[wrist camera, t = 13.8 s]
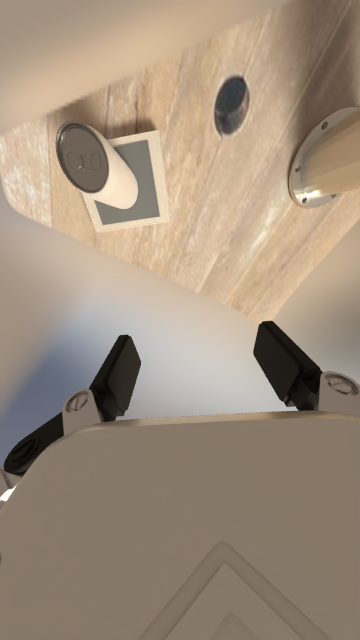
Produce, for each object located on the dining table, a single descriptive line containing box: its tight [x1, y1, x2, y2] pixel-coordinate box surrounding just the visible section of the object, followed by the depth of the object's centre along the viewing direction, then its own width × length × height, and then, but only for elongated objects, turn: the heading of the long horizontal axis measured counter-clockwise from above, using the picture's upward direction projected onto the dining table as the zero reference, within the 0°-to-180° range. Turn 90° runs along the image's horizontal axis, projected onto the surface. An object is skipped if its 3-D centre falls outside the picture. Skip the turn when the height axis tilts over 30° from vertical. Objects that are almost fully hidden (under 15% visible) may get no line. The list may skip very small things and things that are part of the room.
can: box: [56, 121, 138, 209], centre depth 21 cm, size 6×6×12 cm
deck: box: [82, 130, 171, 232], centre depth 27 cm, size 16×12×3 cm
